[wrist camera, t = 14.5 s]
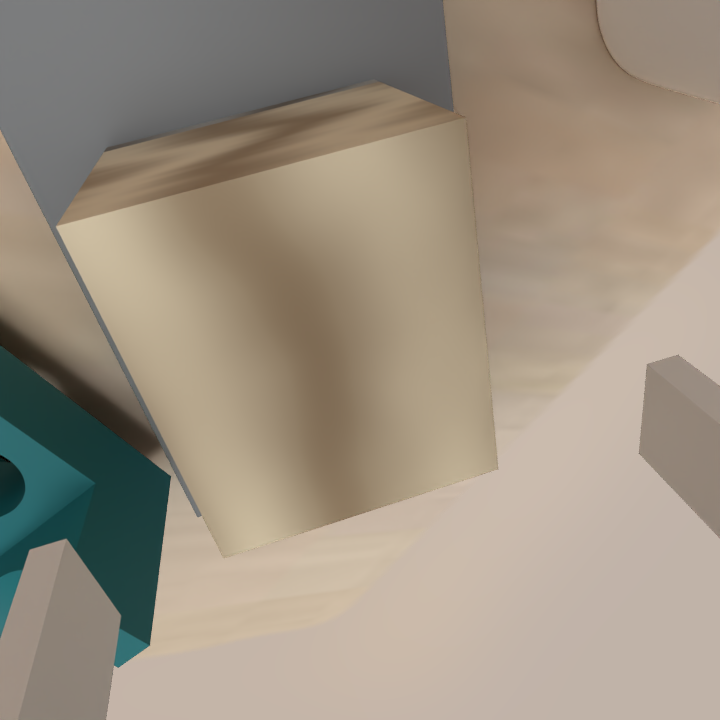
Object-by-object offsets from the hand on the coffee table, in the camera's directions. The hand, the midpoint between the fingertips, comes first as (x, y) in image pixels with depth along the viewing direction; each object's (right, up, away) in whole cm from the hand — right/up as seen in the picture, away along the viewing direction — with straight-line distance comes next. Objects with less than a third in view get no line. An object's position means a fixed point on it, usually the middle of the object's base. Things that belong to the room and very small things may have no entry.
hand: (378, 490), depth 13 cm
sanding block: (-3, +7, +11) cm, 14 cm away
